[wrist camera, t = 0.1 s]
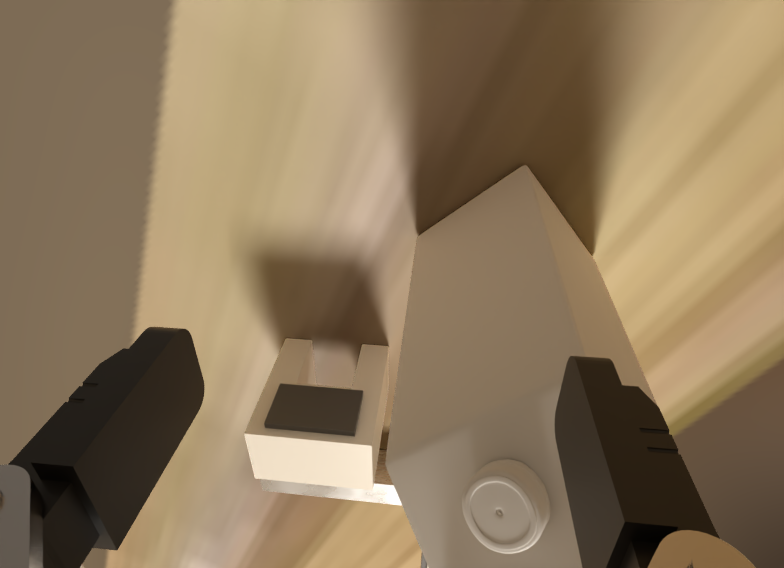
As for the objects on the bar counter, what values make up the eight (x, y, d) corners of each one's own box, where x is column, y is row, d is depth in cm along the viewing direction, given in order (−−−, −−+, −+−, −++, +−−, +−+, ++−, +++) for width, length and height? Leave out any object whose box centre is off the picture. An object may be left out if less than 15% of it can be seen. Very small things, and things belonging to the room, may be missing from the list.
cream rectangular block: (292, 380, 36) (255, 478, 29) (285, 333, 34) (242, 428, 27) (388, 388, 35) (372, 490, 29) (388, 341, 33) (371, 440, 26)
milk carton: (594, 258, 28) (768, 660, 12) (487, 317, 31) (516, 697, 15) (525, 161, 25) (634, 515, 10) (415, 236, 28) (363, 595, 13)
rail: (270, 439, 40) (258, 471, 38) (485, 459, 39) (486, 494, 36) (274, 458, 41) (262, 490, 39) (481, 478, 40) (483, 513, 37)
